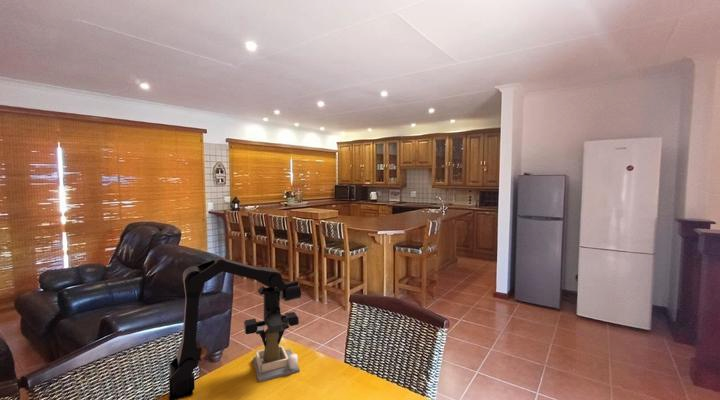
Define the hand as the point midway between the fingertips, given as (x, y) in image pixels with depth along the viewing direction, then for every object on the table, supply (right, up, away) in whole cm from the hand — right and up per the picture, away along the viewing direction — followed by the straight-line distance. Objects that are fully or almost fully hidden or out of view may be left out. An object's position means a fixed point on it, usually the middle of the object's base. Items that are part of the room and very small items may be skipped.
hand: (271, 344), depth 117 cm
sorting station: (+1, -8, 0) cm, 8 cm away
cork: (0, -5, 0) cm, 5 cm away
